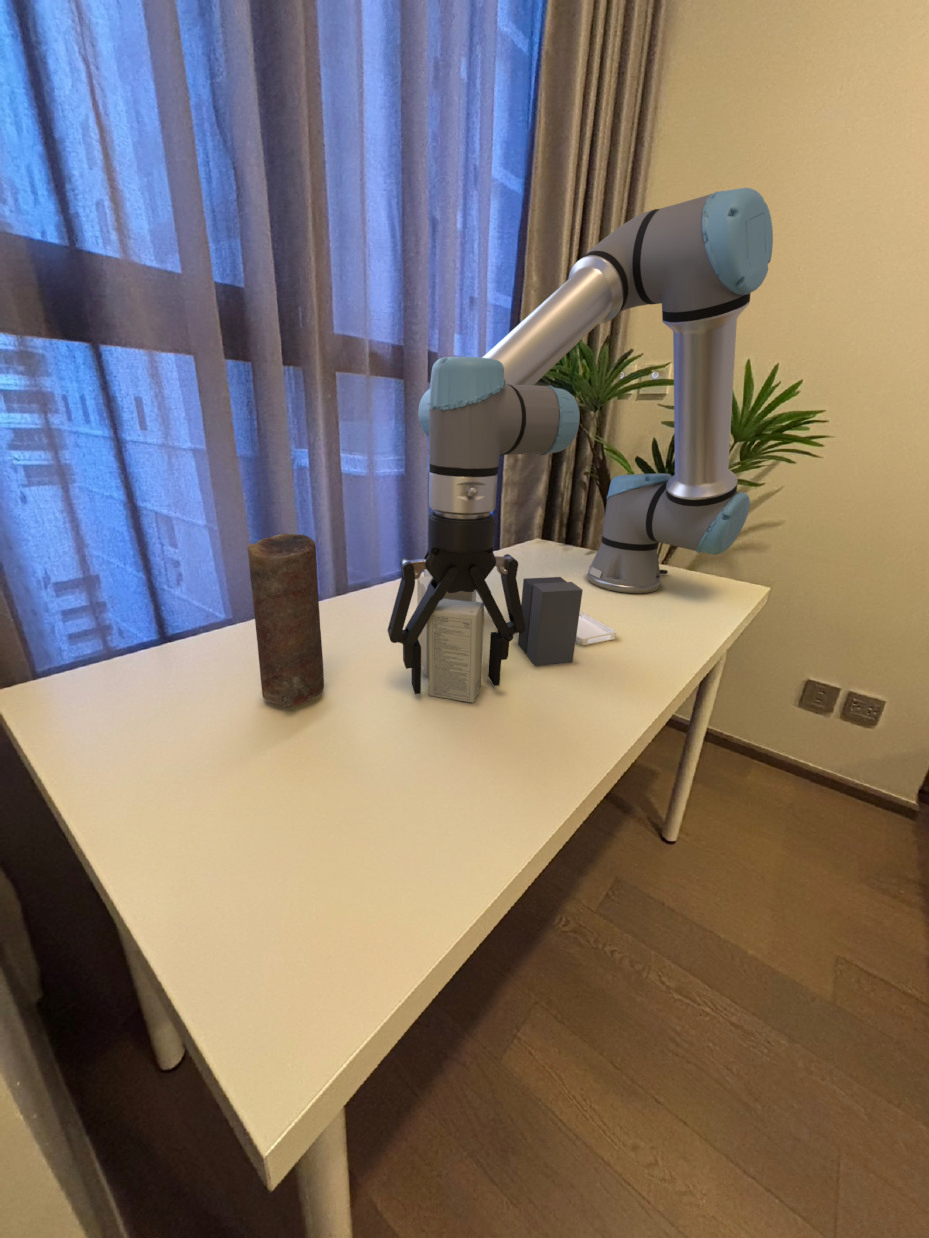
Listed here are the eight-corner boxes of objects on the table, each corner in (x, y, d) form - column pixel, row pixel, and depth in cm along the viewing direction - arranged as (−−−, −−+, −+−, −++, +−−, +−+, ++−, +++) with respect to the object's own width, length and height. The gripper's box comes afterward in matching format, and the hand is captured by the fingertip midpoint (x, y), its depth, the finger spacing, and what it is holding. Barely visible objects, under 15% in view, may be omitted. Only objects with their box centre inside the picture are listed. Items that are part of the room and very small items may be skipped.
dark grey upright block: (552, 641, 81) (560, 573, 76) (572, 662, 75) (582, 589, 70) (517, 644, 80) (523, 575, 75) (534, 666, 73) (542, 591, 69)
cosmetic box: (481, 687, 67) (486, 602, 62) (473, 704, 63) (478, 615, 58) (436, 679, 68) (438, 595, 64) (425, 696, 64) (426, 608, 60)
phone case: (529, 612, 92) (580, 646, 80) (530, 605, 92) (581, 638, 79) (562, 607, 95) (616, 639, 83) (563, 600, 95) (618, 631, 82)
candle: (339, 693, 64) (328, 539, 56) (294, 721, 58) (275, 553, 51) (296, 676, 68) (281, 529, 60) (250, 701, 62) (226, 541, 54)
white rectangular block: (456, 649, 77) (458, 571, 72) (468, 672, 71) (472, 588, 66) (417, 652, 76) (417, 573, 71) (426, 676, 69) (427, 590, 64)
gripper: (363, 520, 51) (371, 709, 59) (567, 517, 56) (546, 690, 65) (358, 506, 57) (366, 678, 66) (541, 505, 63) (525, 663, 71)
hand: (455, 684), depth 65 cm, fingers open, 10 cm apart
